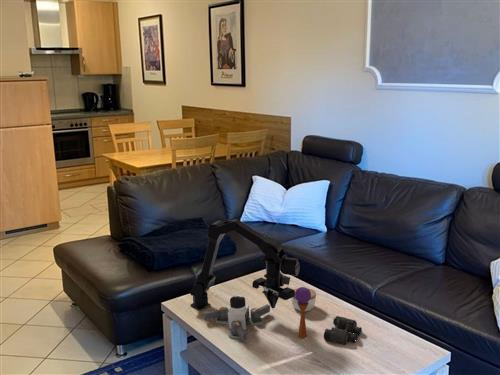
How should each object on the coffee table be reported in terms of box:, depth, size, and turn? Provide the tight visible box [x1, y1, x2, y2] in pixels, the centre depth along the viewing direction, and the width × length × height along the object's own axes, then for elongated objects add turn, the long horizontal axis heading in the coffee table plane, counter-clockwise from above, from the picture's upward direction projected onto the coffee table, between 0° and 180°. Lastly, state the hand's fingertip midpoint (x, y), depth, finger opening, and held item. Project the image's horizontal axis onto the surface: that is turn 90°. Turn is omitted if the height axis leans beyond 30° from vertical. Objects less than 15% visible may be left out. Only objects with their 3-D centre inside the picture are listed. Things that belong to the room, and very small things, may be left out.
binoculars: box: [323, 315, 363, 345], centre depth 189 cm, size 11×16×6 cm
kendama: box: [295, 286, 311, 339], centre depth 186 cm, size 6×6×20 cm
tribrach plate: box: [214, 316, 264, 340], centre depth 199 cm, size 19×20×1 cm
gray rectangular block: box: [230, 321, 248, 341], centre depth 187 cm, size 10×4×4 cm, turn 25°
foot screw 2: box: [249, 303, 271, 322], centre depth 202 cm, size 10×4×4 cm, turn 135°
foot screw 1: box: [203, 306, 230, 321], centre depth 200 cm, size 10×4×4 cm, turn 105°
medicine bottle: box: [228, 294, 250, 330], centre depth 196 cm, size 7×7×12 cm
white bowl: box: [290, 287, 317, 313], centre depth 210 cm, size 11×11×9 cm
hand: (273, 307), depth 200 cm, fingers closed
